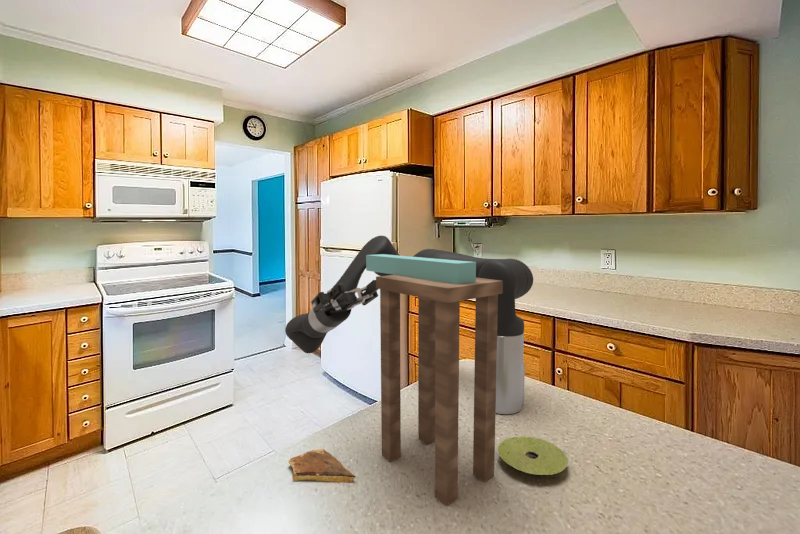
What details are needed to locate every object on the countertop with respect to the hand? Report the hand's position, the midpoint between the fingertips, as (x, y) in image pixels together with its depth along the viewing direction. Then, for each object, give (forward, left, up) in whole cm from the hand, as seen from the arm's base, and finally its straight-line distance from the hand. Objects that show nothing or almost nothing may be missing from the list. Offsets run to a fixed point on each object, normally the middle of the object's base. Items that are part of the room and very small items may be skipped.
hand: (360, 285), depth 81 cm
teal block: (0, +17, +4) cm, 18 cm away
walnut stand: (0, +23, -28) cm, 36 cm away
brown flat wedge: (+15, +11, -29) cm, 35 cm away
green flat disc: (-13, +33, -28) cm, 45 cm away
